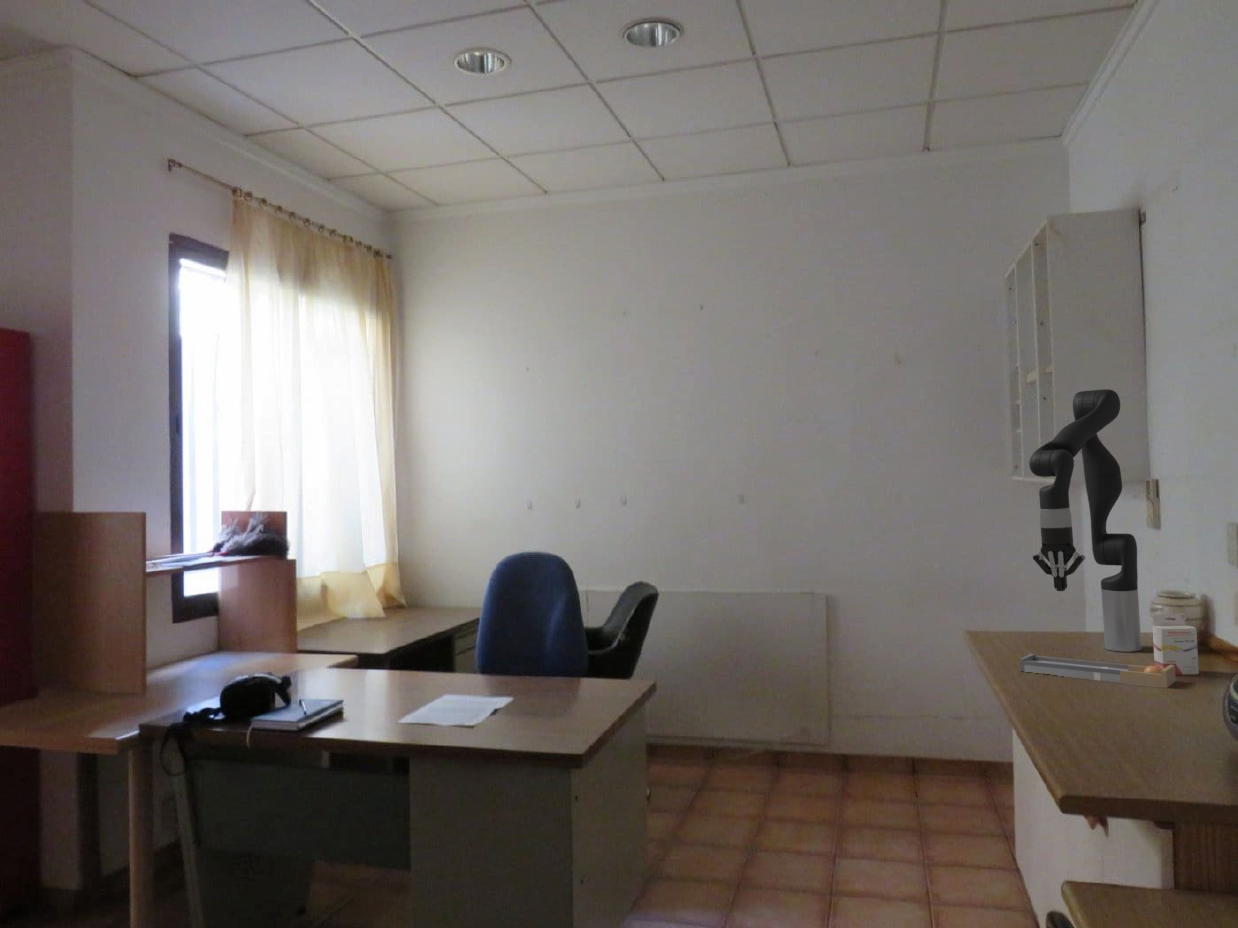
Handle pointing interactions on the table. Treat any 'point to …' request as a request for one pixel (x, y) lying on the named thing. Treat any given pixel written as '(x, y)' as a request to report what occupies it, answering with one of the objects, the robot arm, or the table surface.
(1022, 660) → the lane
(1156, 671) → the ball
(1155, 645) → the ink cartridge box
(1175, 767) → the table surface
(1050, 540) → the robot arm
